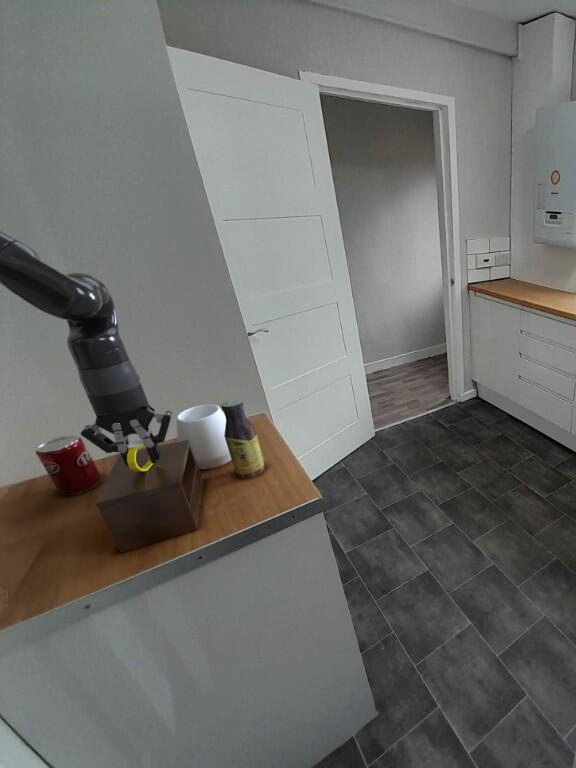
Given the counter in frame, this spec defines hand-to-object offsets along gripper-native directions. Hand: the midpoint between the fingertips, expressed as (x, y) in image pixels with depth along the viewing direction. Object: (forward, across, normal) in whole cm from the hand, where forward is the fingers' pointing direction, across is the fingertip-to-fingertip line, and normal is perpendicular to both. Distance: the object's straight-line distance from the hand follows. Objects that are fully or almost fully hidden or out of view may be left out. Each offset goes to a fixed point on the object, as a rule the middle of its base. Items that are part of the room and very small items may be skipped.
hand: (145, 463), depth 82 cm
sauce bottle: (+13, +16, +8) cm, 22 cm away
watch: (+1, 0, 0) cm, 1 cm away
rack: (+13, 0, 0) cm, 13 cm away
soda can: (+13, -18, +21) cm, 31 cm away
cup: (+13, +8, +19) cm, 25 cm away
